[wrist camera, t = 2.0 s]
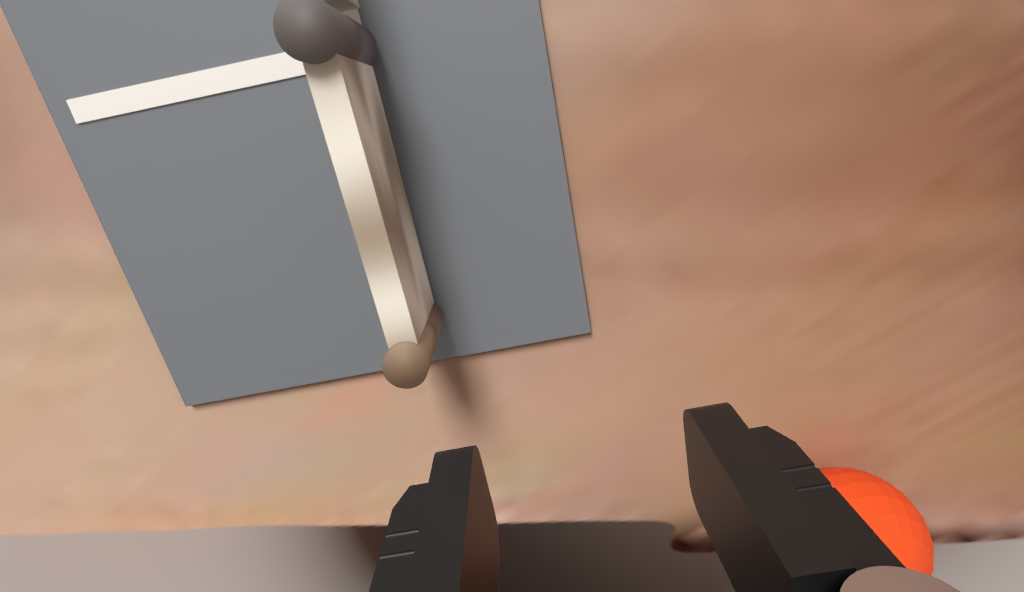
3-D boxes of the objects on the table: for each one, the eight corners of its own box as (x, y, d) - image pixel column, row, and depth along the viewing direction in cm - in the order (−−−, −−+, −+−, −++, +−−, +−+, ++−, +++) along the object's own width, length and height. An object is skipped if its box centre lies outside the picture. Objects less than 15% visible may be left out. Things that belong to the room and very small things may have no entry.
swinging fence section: (323, 28, 22) (263, 0, 16) (369, 17, 22) (325, -14, 16) (410, 336, 26) (386, 392, 21) (449, 329, 26) (435, 383, 21)
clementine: (751, 555, 32) (815, 671, 26) (724, 470, 30) (786, 571, 24) (881, 516, 32) (983, 626, 25) (863, 425, 29) (968, 517, 23)
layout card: (461, -484, 17) (460, -500, 17) (589, 329, 27) (591, 333, 27) (-142, -321, 19) (-158, -332, 18) (190, 402, 28) (184, 407, 28)
